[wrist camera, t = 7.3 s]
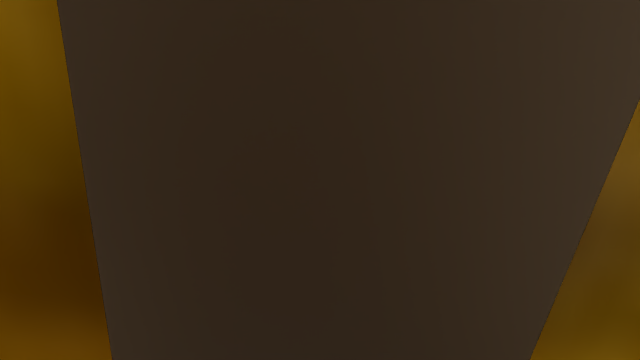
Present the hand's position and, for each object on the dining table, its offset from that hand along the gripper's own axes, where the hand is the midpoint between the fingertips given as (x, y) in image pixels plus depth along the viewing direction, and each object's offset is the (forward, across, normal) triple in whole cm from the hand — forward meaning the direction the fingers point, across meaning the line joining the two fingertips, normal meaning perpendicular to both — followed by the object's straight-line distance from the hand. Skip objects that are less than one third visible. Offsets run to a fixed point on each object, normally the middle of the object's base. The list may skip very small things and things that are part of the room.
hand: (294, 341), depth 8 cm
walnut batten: (+2, 0, -6) cm, 6 cm away
